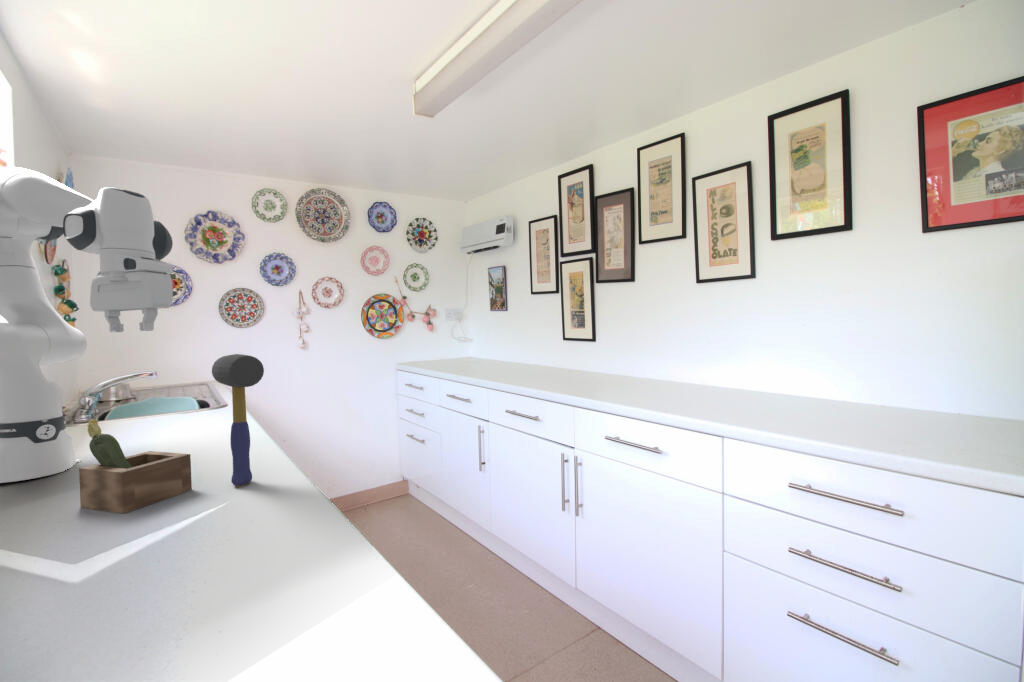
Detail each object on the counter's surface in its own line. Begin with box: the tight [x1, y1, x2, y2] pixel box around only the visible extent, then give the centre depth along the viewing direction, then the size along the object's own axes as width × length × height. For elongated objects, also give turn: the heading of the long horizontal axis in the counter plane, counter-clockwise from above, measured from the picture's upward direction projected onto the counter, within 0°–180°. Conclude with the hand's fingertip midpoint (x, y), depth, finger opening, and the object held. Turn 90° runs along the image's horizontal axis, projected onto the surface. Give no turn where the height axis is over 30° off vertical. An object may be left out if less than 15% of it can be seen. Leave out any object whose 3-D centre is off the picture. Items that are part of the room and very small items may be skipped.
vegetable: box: [87, 418, 132, 469], centre depth 90 cm, size 4×4×20 cm
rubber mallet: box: [211, 353, 265, 488], centre depth 97 cm, size 12×8×30 cm, turn 51°
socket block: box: [78, 450, 193, 514], centre depth 91 cm, size 13×13×8 cm
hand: (131, 331), depth 91 cm, fingers open, 8 cm apart
